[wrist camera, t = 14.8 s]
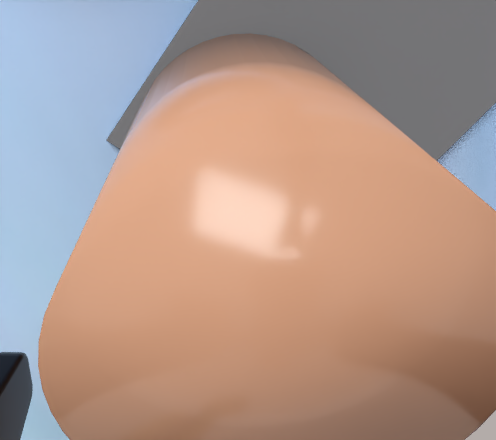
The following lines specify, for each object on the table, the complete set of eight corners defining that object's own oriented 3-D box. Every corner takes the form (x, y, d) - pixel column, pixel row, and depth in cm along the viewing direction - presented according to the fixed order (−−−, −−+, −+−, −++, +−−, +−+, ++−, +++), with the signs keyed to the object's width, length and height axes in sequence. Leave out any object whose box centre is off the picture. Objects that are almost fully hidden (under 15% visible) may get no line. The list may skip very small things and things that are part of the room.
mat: (423, -343, 9) (430, -353, 9) (626, -36, 13) (635, -36, 12) (108, 137, 14) (106, 140, 13) (318, 270, 17) (320, 275, 17)
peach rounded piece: (141, 13, 12) (16, 104, 4) (379, 55, 13) (644, 193, 5) (124, 337, 17) (60, 634, 10) (291, 347, 19) (353, 624, 11)
